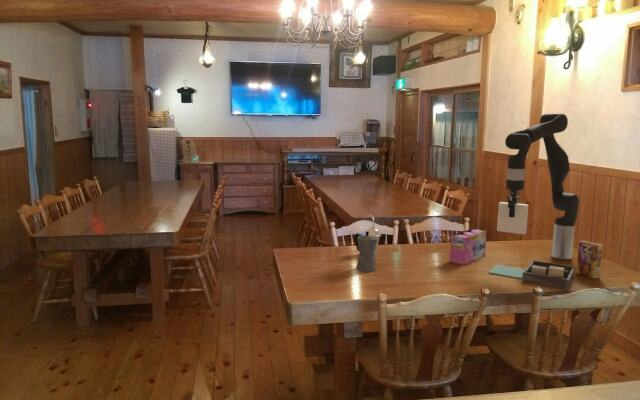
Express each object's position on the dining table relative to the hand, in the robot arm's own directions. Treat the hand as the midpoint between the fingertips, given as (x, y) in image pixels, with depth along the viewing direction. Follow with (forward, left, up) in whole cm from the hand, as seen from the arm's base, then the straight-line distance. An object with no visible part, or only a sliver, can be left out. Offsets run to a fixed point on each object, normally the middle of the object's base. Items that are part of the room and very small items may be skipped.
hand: (512, 216), depth 220 cm
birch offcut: (+5, +20, -26) cm, 34 cm away
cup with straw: (+8, -66, -27) cm, 72 cm away
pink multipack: (-11, -22, -27) cm, 36 cm away
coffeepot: (+33, -57, -27) cm, 71 cm away
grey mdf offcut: (+5, +14, -26) cm, 30 cm away
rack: (0, +17, -26) cm, 31 cm away
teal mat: (0, 0, -26) cm, 26 cm away
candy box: (-16, +31, -27) cm, 44 cm away
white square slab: (0, 0, -7) cm, 7 cm away
